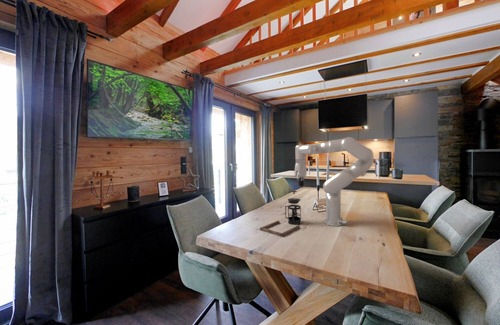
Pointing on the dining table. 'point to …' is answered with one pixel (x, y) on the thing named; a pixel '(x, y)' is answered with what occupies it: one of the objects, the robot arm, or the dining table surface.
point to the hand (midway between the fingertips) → (301, 186)
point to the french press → (293, 211)
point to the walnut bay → (277, 232)
